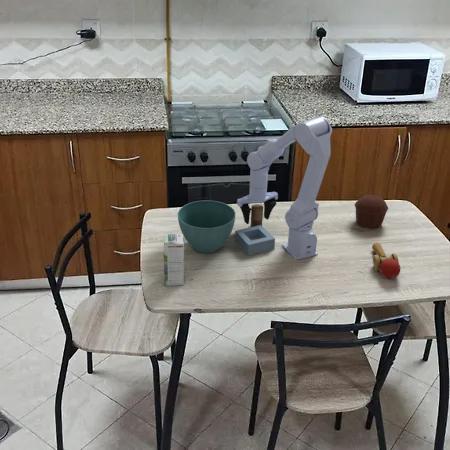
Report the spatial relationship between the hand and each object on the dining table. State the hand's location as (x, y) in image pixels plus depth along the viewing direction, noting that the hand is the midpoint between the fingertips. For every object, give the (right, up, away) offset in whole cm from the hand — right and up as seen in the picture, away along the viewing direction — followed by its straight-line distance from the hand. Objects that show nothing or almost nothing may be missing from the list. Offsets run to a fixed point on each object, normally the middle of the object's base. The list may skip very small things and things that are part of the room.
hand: (256, 220), depth 198 cm
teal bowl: (-17, -9, -10) cm, 21 cm away
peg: (0, -2, +1) cm, 3 cm away
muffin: (+40, -1, +6) cm, 40 cm away
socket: (-1, -8, -9) cm, 12 cm away
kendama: (+38, -14, -18) cm, 45 cm away
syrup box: (-26, -18, -27) cm, 41 cm away
